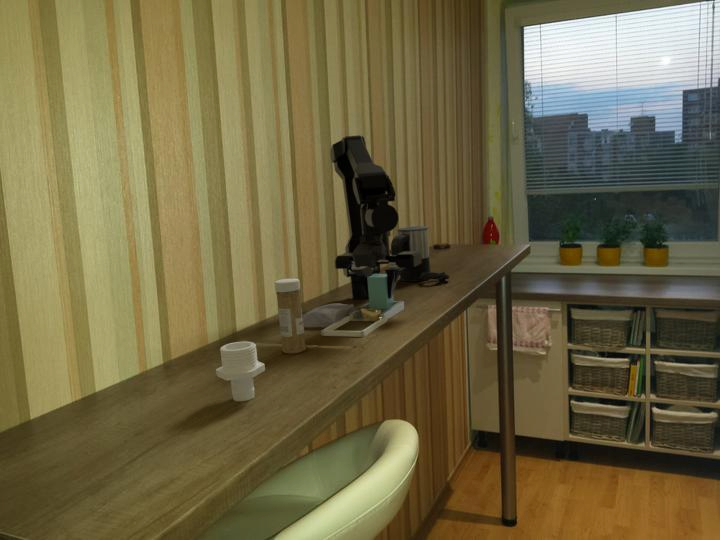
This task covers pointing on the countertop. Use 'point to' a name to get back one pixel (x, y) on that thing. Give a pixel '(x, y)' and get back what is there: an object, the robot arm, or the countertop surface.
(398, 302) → the channel
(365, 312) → the chip
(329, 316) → the stone block
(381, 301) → the mint green brick
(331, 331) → the chip tray
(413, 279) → the milk frother
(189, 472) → the countertop surface
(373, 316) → the chip
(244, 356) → the pipe fitting
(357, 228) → the robot arm
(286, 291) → the sprinkles bottle
